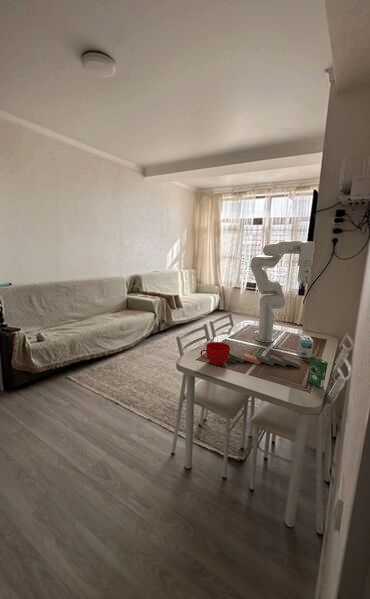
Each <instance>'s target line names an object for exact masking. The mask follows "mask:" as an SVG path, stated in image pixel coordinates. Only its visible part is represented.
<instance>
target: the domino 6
mask: <svg viewBox="0 0 370 599" xmlns="http://www.w3.org/2000/svg"><path fill="white" fill-rule="evenodd" d="M280 358H281V359H282V361H283V362H284V363H286V365H290V366H293V367H294V368H298V369H300V367H301V364H300V363H299V361H298V360H296V359H293V358H291V357H288V356H284V355H282V356H281V357H280Z"/></svg>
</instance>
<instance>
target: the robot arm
mask: <svg viewBox="0 0 370 599" xmlns="http://www.w3.org/2000/svg"><path fill="white" fill-rule="evenodd" d="M315 245H316V243H315V242H314V241H306V240H283V241H282V240H281V241H278V242H271V243H267V244H265V245H264V246H263V248H262V252H263V254H264V255H256V256H254V257H252V259H251V262H250V268H251V272H252V274H253V277H254V278H255V279H254V280H255V283H256V287H257V290H258V292H259V294H261V295H263V296H261V297H260V299H259V319H258V320H259V321H258V330H255V331H254V332H253V333H254V335H256V336H255V337H254V338H255V340H256V341H259V342H261V343H273V342H274V341H275V338H274V337H273V332H274V331H273V330H274V320H275V314H274V312H273V310H278V309H283V308H284V307H285V305H286V298H285V294H284V291H283V289H282V286H281V284H280V282H279V281H276V280H270V279H269V276H268V274H267V272H266V271H265V270H264V269H272V268H275V267H276V266H277V264H279V262H280V261H281V259H282V258H283V257H284V255H286V254H288V255H289V254H291V255H293V254H294V255H298V260H297V267H298V272H297V283H298V292H297V295H298V296H301V297H304V296H305V294H306V286H307V285H310V283H311V275H312V274H311V273H312V267H313V262H314V255H315V254H314V253H315Z"/></svg>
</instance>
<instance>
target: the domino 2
mask: <svg viewBox="0 0 370 599" xmlns="http://www.w3.org/2000/svg"><path fill="white" fill-rule="evenodd" d="M229 357H230V358H232V359H235V360H236V362H240V363H241V364H243V363H244V361H245V360H244V358H243V355H242V354H239V353H238V352H237V353H236V352H235V351H232V350H230V353H229Z"/></svg>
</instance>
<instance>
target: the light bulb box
mask: <svg viewBox="0 0 370 599" xmlns="http://www.w3.org/2000/svg"><path fill="white" fill-rule="evenodd" d="M314 342H315V341H314V340H313V338H312V337H311V336H310V335H305V334H298V341H297V350H296V351H297V353H298V355H299V357H302V358H308V359H311V356H313V350H314Z"/></svg>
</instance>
